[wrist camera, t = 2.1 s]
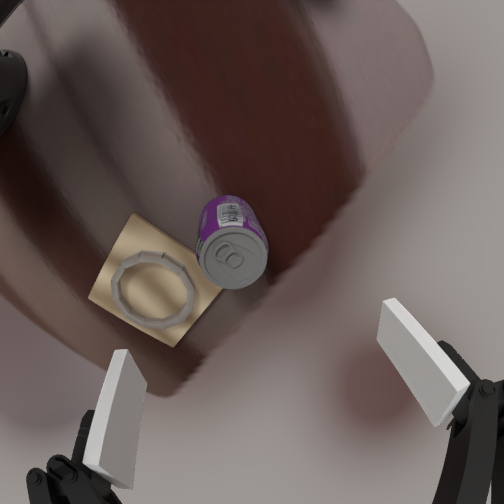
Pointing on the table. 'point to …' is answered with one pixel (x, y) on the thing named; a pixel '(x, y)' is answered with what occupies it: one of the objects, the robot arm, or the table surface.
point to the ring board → (153, 282)
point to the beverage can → (230, 243)
